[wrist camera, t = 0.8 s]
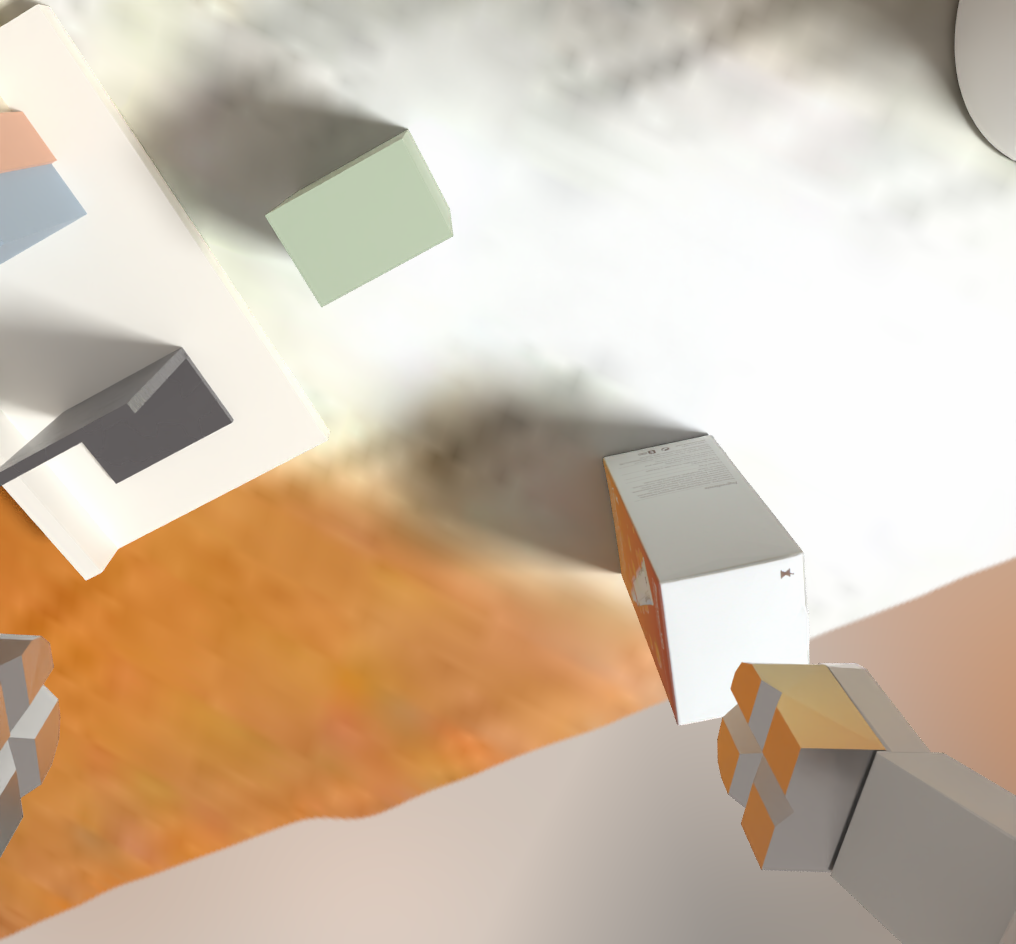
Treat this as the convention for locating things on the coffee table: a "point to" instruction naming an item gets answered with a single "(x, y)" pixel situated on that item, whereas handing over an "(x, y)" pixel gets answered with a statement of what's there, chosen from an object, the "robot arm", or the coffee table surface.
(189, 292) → the slotted holder
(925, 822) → the robot arm
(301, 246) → the sage green cuboid
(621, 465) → the small box
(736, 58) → the coffee table surface
